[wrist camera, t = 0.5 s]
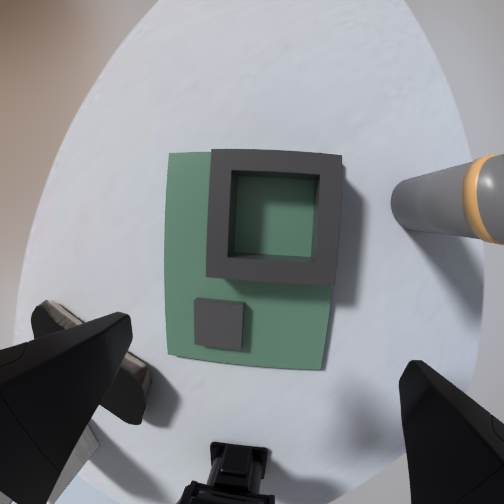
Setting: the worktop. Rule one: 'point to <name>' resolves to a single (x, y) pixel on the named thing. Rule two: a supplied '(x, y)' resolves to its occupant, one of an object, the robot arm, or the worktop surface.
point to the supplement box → (75, 462)
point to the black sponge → (126, 380)
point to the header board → (251, 255)
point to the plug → (455, 200)
